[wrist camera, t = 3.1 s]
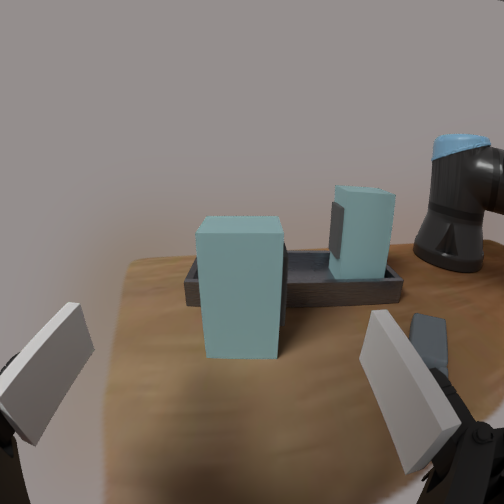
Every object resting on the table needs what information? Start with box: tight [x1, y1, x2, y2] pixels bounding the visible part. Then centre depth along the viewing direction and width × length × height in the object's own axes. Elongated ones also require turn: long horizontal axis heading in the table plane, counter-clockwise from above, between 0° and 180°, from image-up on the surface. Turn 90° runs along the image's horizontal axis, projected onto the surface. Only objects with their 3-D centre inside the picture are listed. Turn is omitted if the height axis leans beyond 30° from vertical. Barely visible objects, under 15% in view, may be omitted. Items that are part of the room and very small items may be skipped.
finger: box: [195, 216, 289, 359], centre depth 24 cm, size 6×5×11 cm
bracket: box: [409, 313, 448, 378], centre depth 21 cm, size 4×10×2 cm, turn 149°
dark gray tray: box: [184, 251, 404, 307], centre depth 35 cm, size 25×10×3 cm, turn 90°
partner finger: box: [329, 185, 396, 279], centre depth 33 cm, size 6×5×11 cm
